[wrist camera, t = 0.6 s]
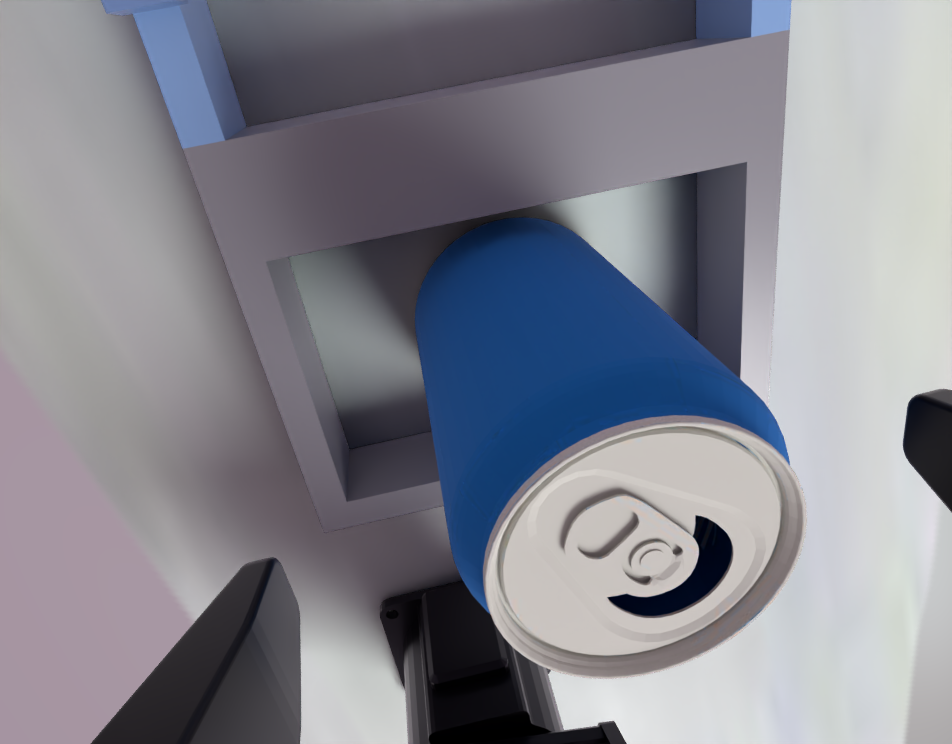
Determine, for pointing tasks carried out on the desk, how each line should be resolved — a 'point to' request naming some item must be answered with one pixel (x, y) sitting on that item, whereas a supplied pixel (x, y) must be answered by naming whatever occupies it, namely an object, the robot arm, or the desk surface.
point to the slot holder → (477, 195)
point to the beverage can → (596, 459)
